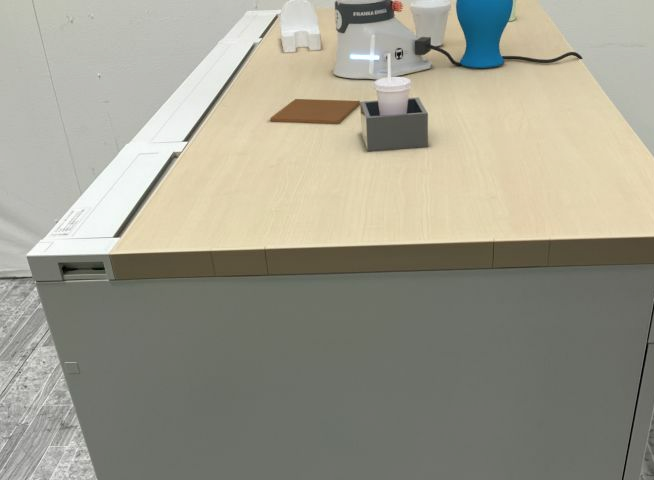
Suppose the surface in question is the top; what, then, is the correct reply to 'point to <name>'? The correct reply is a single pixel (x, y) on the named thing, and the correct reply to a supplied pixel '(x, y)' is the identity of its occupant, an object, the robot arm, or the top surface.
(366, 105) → the holder
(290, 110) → the coaster
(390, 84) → the smoothie
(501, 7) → the vase
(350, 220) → the top surface
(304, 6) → the white u-slot block
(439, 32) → the cup
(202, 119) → the top surface
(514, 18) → the candle
